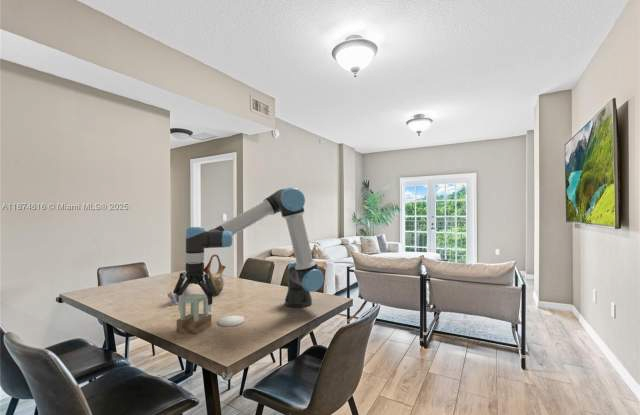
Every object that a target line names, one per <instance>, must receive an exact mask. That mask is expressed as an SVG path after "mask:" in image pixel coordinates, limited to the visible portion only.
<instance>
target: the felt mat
mask: <svg viewBox="0 0 640 415" xmlns="http://www.w3.org/2000/svg"><path fill="white" fill-rule="evenodd" d="M245 321H246V318H245V317H244V316H241V315H229V316H228V315H227V316H224V317H221V318H219V319H218V321H217V324H218V326H221V327H236V326H240V325H242V324H243V323H245Z"/></svg>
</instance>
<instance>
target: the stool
mask: <svg viewBox="0 0 640 415" xmlns="http://www.w3.org/2000/svg"><path fill="white" fill-rule="evenodd" d="M206 297H207V296H206V294H200V293H191V294H190V295H188V296H186V297H183V298H181V310H180V313H179V314H180V316H179V317H180V318H179V319H180V320H184V319H185V316H187V315H186V304H188V303H189V304H190V314H191V315H194V321H198V320H199V314H200V312H199V311H200V310H199V309H200V304H199V303H201V302H203V312H202V314H203V316H208V314H209V312H208V313H206Z"/></svg>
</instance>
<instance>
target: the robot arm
mask: <svg viewBox="0 0 640 415" xmlns="http://www.w3.org/2000/svg"><path fill="white" fill-rule="evenodd" d="M305 203H306V198H305V194H304V193H303V191H302V190H300V189H299V188H296V187H287V188H281V189H278V190H277V191H275V192H274V193H273V194H271V195H269V196H268V197H266V198H264V199H263V201H262V202H261V203H259V204H256V205H255V206H253V207H251V208H250V209H248V210H246V211H244V212H242V213H241V214H238V215H236V216H234V217H232V218H231V219H230V220H228V221H226V222H224V223H222V224H220V225H219V226H216V227H215V228H211V229H209V230H208V231H206V230H205V227H204V226H190V227H187V228H186V230H185V232H186V233H185V262H186V263H185V271H183V272H180V273H179V278H178V280H177V283H176V285H175V287H174V289H173V291H172V293H174V294H177V301H178V302H179V305H178V311H180V312H181V298H183V297H184V294H183V292H184V291H185V290H186V288H188V287H189V286H190V284H191V285H192V284H194V285H197V286H199V287H200V288H201V290H202V291H203V293H204V295H206V296H207V297H206V313H208V314H209V313H210V312H212V305H213V297H214V296H215V295H216V296H218V295H217V293H216V290H215V288H214V286H213V283H212V281H211V278H210V274H205V272H203V271H204V268H205V262H204V261H205V249H213V248H216V249H217V248H231V246H232V245H233V236H234V235H236V234H238V233H240V232H241V231H243V230H245V229H246V228H248V227H251V226H253V224H256V223H257V222H259V221H261V220H263V219H265V218H266V217H268V216H270V215H271V216H274V215H275V214H277V213H280V214H281V217H282V218H283V219H285V221H286V225H287V229H288V232H289V237H290V241H291V242H290V243H291V245H292V250H293V254H294V258H295V261H296V262H290V263H289V264H288V267H287V293H286V295H285V299H284V305H285V306H286V307H290V308H306V307H309V306H311V305H312V304H313V299H312V295H311V292H312V293H313V292H317V291H318V290H319V289H320V288H322V285H323V283H324V280H325V279H324V278H325V277H324V273H323V272H322V271H321V270H319V266H318V262H317V261H316V260H314V259H313V255H312V251H311V250H312V249H311V245H310V241H309V238H308V234H307V230H306V226H305V221H304V218H303V216H304V213H305V208H304V206H305ZM205 282H206V284H207V285H206V284H205ZM183 283H184V284H183ZM182 284H183V286H182ZM181 286H182V287H181Z"/></svg>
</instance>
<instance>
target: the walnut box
mask: <svg viewBox="0 0 640 415" xmlns="http://www.w3.org/2000/svg"><path fill="white" fill-rule="evenodd" d="M210 327H212V314H209V313H208V316H203V313H199V320H198V321H194V315H191V313H188V314H187V315H185V319H184V320H180V318H179V319H177V320H176V333H181V334H188V335H189V334H191V335H199V334H200V333H202V332H204V331H205V330H206V329H207V330H208V329H209V328H210Z"/></svg>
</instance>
